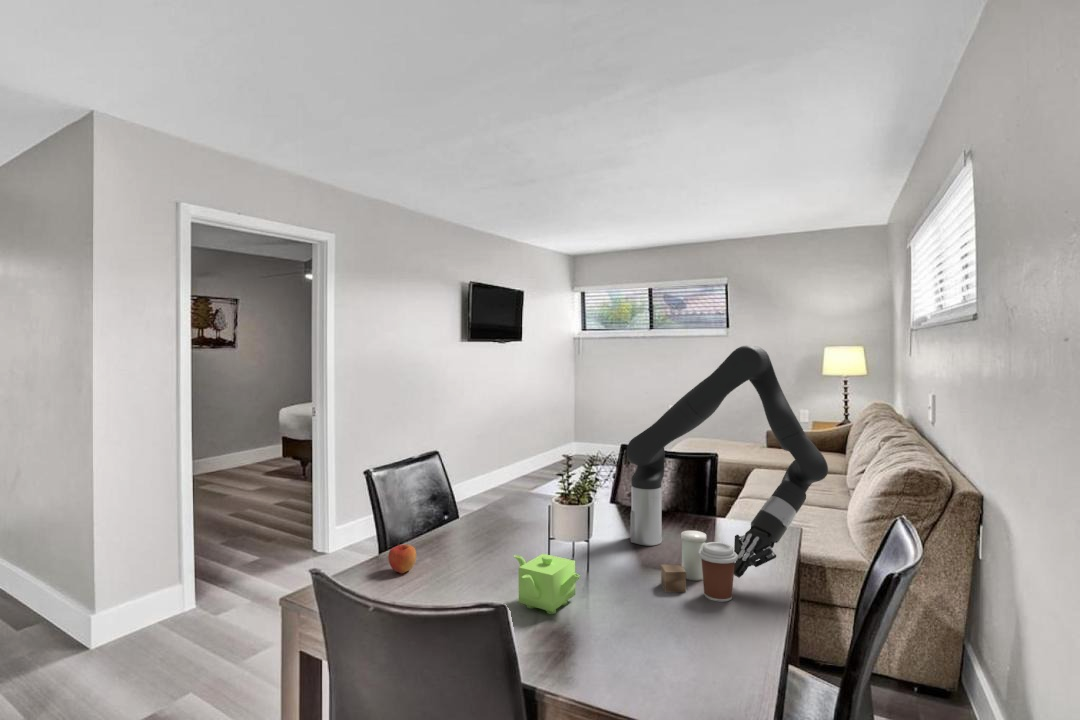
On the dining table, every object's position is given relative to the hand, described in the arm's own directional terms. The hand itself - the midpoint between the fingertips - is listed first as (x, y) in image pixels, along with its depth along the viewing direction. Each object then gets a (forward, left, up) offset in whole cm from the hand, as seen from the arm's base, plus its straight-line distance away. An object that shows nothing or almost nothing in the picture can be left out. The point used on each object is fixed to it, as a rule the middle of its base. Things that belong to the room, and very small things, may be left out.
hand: (734, 574), depth 139 cm
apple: (-86, -8, -5) cm, 86 cm away
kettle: (-44, -18, -5) cm, 47 cm away
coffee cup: (-4, -3, -5) cm, 7 cm away
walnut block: (-15, -1, -5) cm, 15 cm away
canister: (-10, +8, -4) cm, 14 cm away
